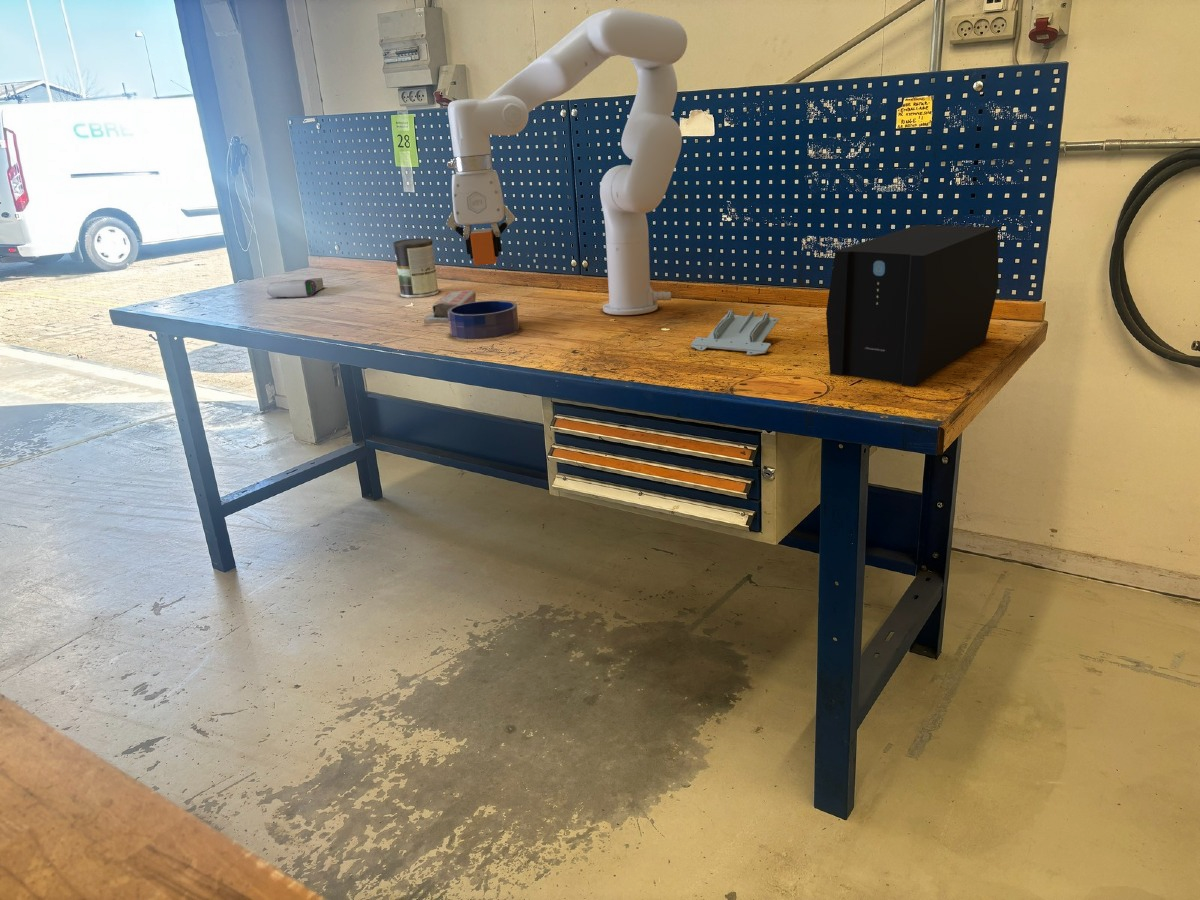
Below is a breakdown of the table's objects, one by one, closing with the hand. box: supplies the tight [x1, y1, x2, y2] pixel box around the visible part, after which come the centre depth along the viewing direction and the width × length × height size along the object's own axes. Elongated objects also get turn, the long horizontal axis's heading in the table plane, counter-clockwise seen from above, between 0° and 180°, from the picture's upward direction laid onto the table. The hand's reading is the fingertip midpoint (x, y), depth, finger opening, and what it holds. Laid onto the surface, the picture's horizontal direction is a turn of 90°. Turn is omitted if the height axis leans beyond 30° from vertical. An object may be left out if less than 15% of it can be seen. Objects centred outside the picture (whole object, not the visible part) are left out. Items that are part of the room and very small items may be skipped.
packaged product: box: [423, 289, 477, 324], centre depth 199 cm, size 18×5×10 cm
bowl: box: [448, 300, 520, 340], centre depth 181 cm, size 15×15×6 cm
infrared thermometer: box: [266, 277, 324, 298], centre depth 241 cm, size 5×12×15 cm
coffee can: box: [392, 237, 439, 299], centre depth 227 cm, size 10×10×14 cm
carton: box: [470, 227, 498, 267], centre depth 177 cm, size 4×5×7 cm
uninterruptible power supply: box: [825, 224, 999, 387], centre depth 144 cm, size 16×34×20 cm, turn 139°
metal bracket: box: [690, 309, 780, 356], centre depth 161 cm, size 14×6×15 cm
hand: (485, 255), depth 178 cm, fingers closed on carton, 4 cm apart
